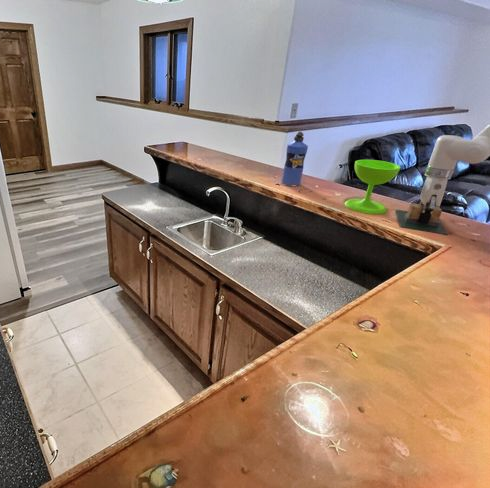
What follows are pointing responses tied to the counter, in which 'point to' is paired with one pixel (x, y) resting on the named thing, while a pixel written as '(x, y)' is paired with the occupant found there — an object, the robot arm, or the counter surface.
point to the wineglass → (372, 184)
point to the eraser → (415, 213)
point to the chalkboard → (419, 227)
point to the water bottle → (294, 161)
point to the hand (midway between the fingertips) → (421, 220)
